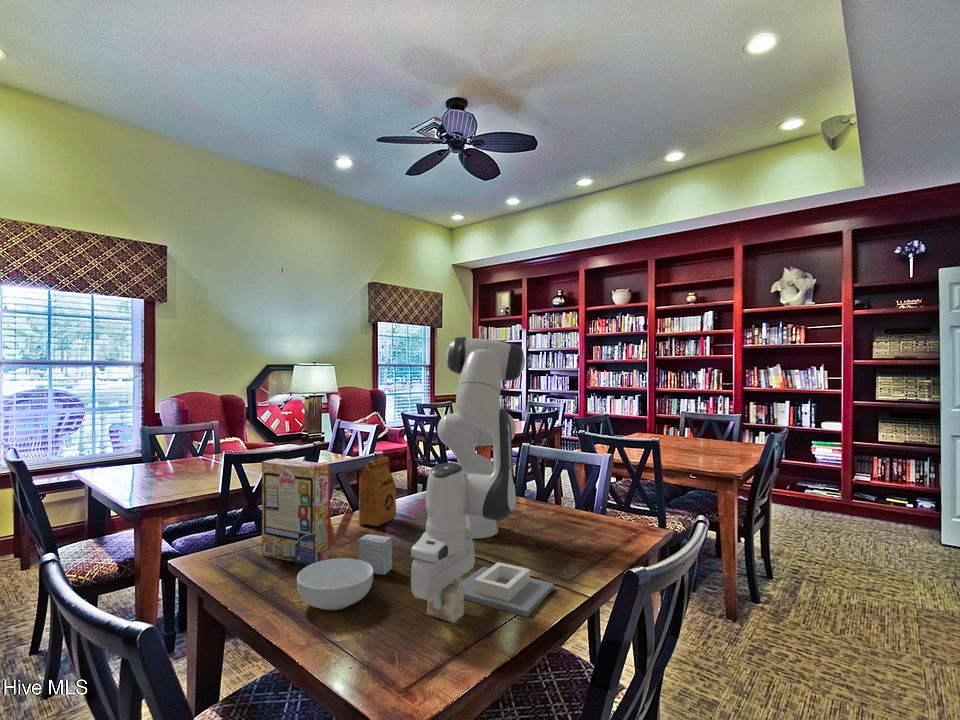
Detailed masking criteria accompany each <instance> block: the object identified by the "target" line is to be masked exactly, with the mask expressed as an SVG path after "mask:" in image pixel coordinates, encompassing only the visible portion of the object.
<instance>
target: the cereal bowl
mask: <svg viewBox="0 0 960 720" xmlns="http://www.w3.org/2000/svg"><path fill="white" fill-rule="evenodd" d="M373 581H374V573H373V568H372V566H371V565H370V564H368V563H367V562H365V561H362V560H358V558H350V557H342V558H341V557H340V558H330V559H328V560H323V561H319V562H316V563H313V564H311V565H306V566H305V567H304V568H302V569H301V570H300V571H299V572H298V573H297V576H296V588H297V592H298V596H299V597H300V599H301V600H302V601H303V603H305V604H306V605H308V606H311V607H313V608H317V609H320V610H321V609H322V610H326V611H337V610H338V611H339V610H343V609H345V608H347V607H349V606H351V605H353V604H357V603H358V602H359V601H360V600H362V599H364V597H365V596H367V594H368V593H369V591H370V590H371V587H372V584H373Z"/></svg>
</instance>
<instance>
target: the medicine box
mask: <svg viewBox="0 0 960 720" xmlns="http://www.w3.org/2000/svg"><path fill="white" fill-rule="evenodd" d="M392 540H393V539H392V537H391V536H386V535H385V536H384V535H379V534H378V535H377V534H369V533H368V534H365V535H363V536H360V538H358V540H357V542H358V545H357V546H358V547H357V548H358V549H357V553H358V554H357V557H358V558H357V559H358V560H362V561H365V562H367V563H368V564H370V565H371V566H372V568H373V575H374V574H376V575H382V576H384V575H386V574H388V573H389V572H390V571H391V570H393V554H392V553H393V552H392V551H393V550H392V549H393V545H392V542H393V541H392Z"/></svg>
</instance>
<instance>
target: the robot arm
mask: <svg viewBox="0 0 960 720" xmlns="http://www.w3.org/2000/svg"><path fill="white" fill-rule="evenodd" d="M445 359H446V364H447V367H448V369H449V370H450V371H451V372H453V373H454V374H458V375H460V376H459V380H458V385H457V388H456V389H457V390H456V396H455V406H456V410H457V412H453V413H449V414H448V413H447V414H444V415H443V416H442V417H441V418H440V420H439V422H438V424H437V435H438V438H439V440H440V442H442V443H443V445H445V446H446V447H447V448H448V449H449V450H450V451H451V452H452V453H453V455H454V456H455V458H456V460H457V463H456V462H455V463H454V462H444V463H440V464H437V465H435V466H433V467H431V468H430V470H429V473H428V476H427V483H426V490H425V491H426V493H425V509H426V512H427V519H426V523H425V531H424V532H423V534H422V535H421V536H420V538H419V539H418V541H416V543H414V545H413V546H412V548H411V549H410V551H411V552H410V557H412V558H414V559H413V561H412V564H411V570H410V571H411V572H410V587H411V588H410V589H411V593H412V595H413V596H414V597H415V598H416V599H417V598H418V599H420V600H421V599H422V600H424V601H425V600H426V601H427V599H429V598H430V597H432V599H433V607H434V608H435V609H438V610H439V609H441V608H442V607H443V606H444V604H443V603H444V599H442V598H441V596H440V594H441V592H442V589H443V588H445V587H446V586H447V585H449V584H454V585H457V586H459V584H460V583H461V577H462V576H463V575H464V574H466V573H468V572H469V571H470V570H472V569H473V568H474V566H475V563H476V555H475V543H474V540H473V539H485V538H490V537H493V536H495V535H497V534H498V533H499V529H498V525H497V522H501V521H503V520H505V519H506V518H507V517H509V516H510V515H511V514H512V513H513V512H514V510H515V508H516V503H517V502H516V500H517V498H516V487H515V480H514V463H513V460H514V459H513V439H514V437H515V435H516V431H517V426H516V422H515V420H514V418H513V416H511V414H509V413H508V411H506V410H505V409H503V408H502V405H501V392H502V391H501V390H502V382H503V381H502V380H504V381H507V382H509V381H510V382H511V381H515V380H517V379H519V377H520V376H521V374H522V373H523V371H524V370H525V369H524V368H525V364H526V361H525V360H526V358H525V354H524V350H523V349H522V347H521V346H520V345H517V344H514V343H512V342H511V343H507V342H504V341H501V340H496V339H487V338H486V339H484V338H472V337H471V338H470V337H469V338H468V337H466V336H459V337H455V338H453V339H452V340H451V341H450V343H449V345H448V346H447V349H446V353H445ZM480 446H481V447H482V446H483V447H484V446H485V447H486V446H487V447H488V446H492V448H493V449H492V454H493V455H492V456H493V458H492V459H493V463H492V462H491V460H490V459H488V458H486V457H485V456H482V455H481V454H478V453H477V450H476V447H480Z"/></svg>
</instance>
